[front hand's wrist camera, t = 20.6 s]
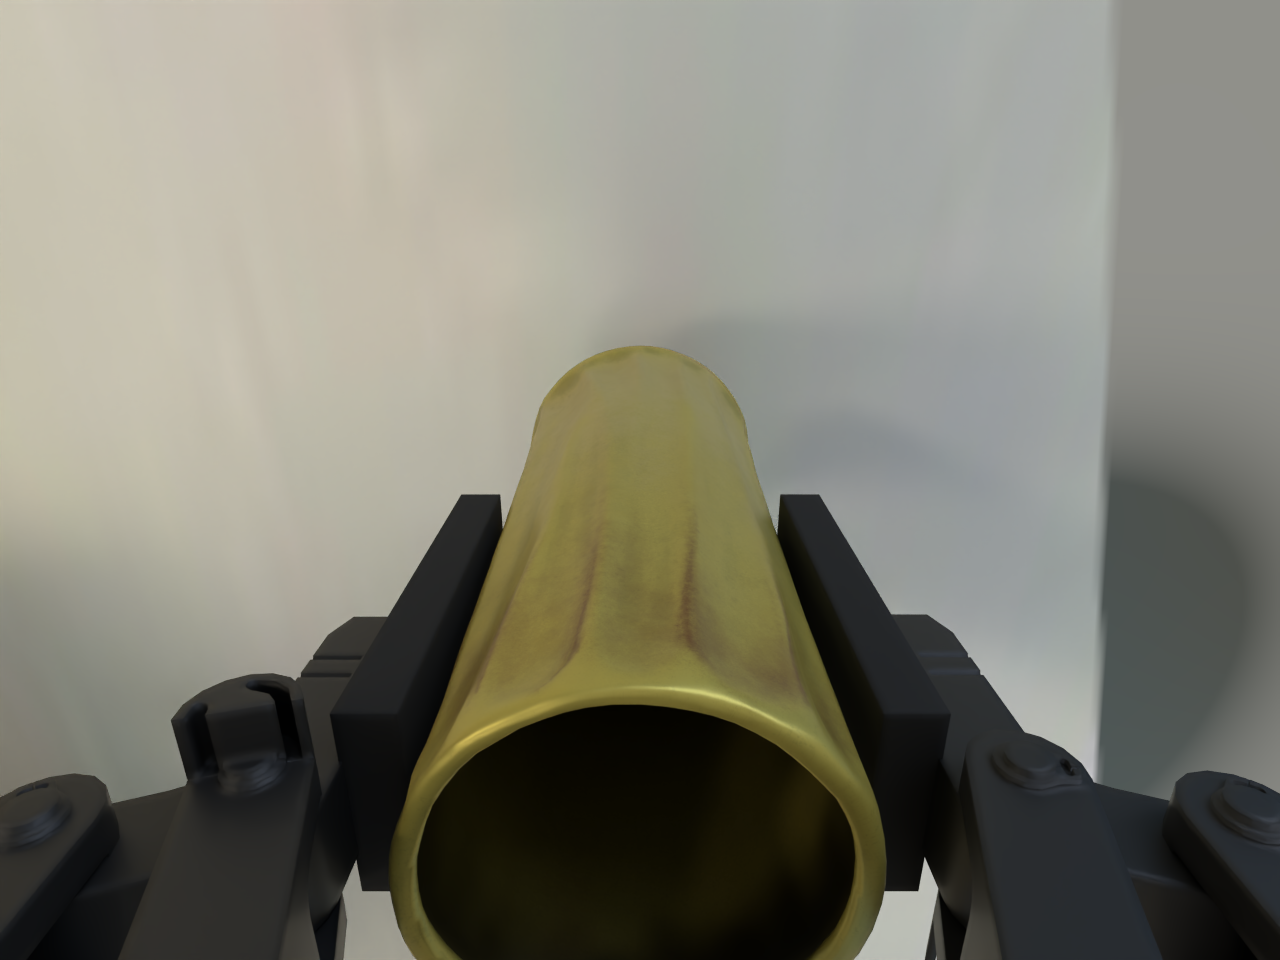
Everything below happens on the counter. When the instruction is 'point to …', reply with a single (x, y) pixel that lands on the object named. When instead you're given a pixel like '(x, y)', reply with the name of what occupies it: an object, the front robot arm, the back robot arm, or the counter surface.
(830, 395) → the counter surface
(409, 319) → the counter surface
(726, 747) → the olive drinking cup
